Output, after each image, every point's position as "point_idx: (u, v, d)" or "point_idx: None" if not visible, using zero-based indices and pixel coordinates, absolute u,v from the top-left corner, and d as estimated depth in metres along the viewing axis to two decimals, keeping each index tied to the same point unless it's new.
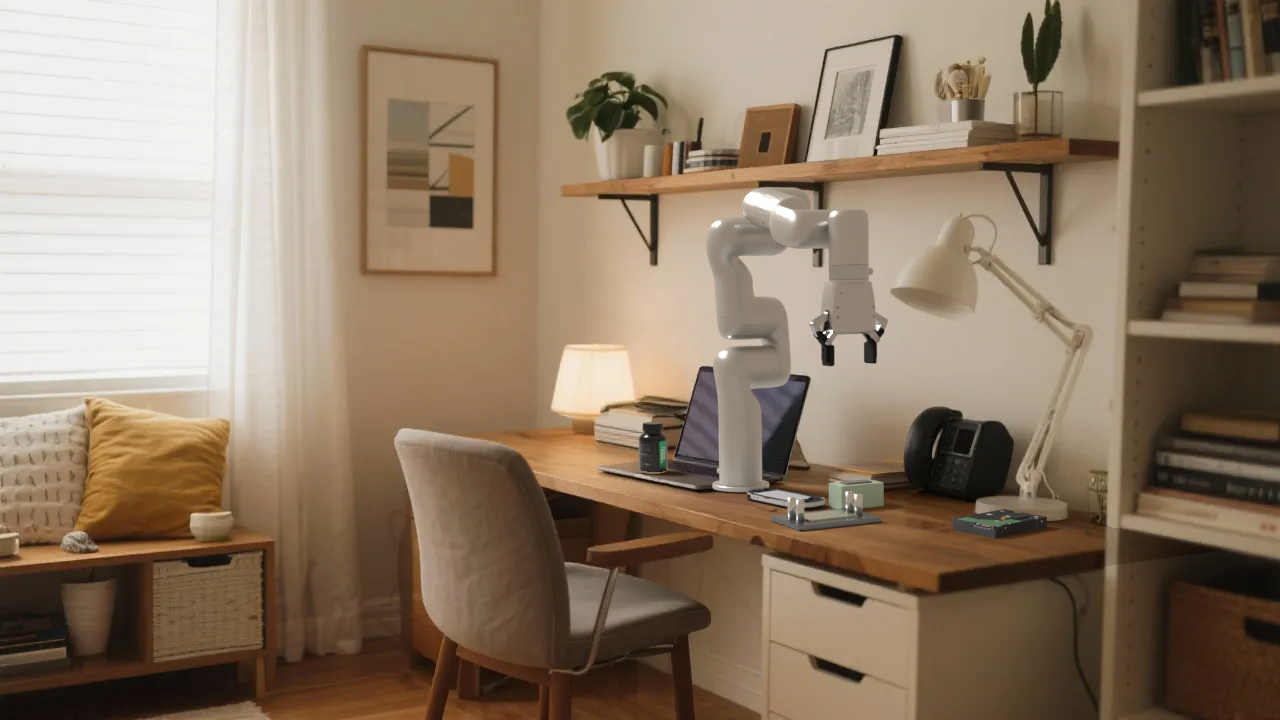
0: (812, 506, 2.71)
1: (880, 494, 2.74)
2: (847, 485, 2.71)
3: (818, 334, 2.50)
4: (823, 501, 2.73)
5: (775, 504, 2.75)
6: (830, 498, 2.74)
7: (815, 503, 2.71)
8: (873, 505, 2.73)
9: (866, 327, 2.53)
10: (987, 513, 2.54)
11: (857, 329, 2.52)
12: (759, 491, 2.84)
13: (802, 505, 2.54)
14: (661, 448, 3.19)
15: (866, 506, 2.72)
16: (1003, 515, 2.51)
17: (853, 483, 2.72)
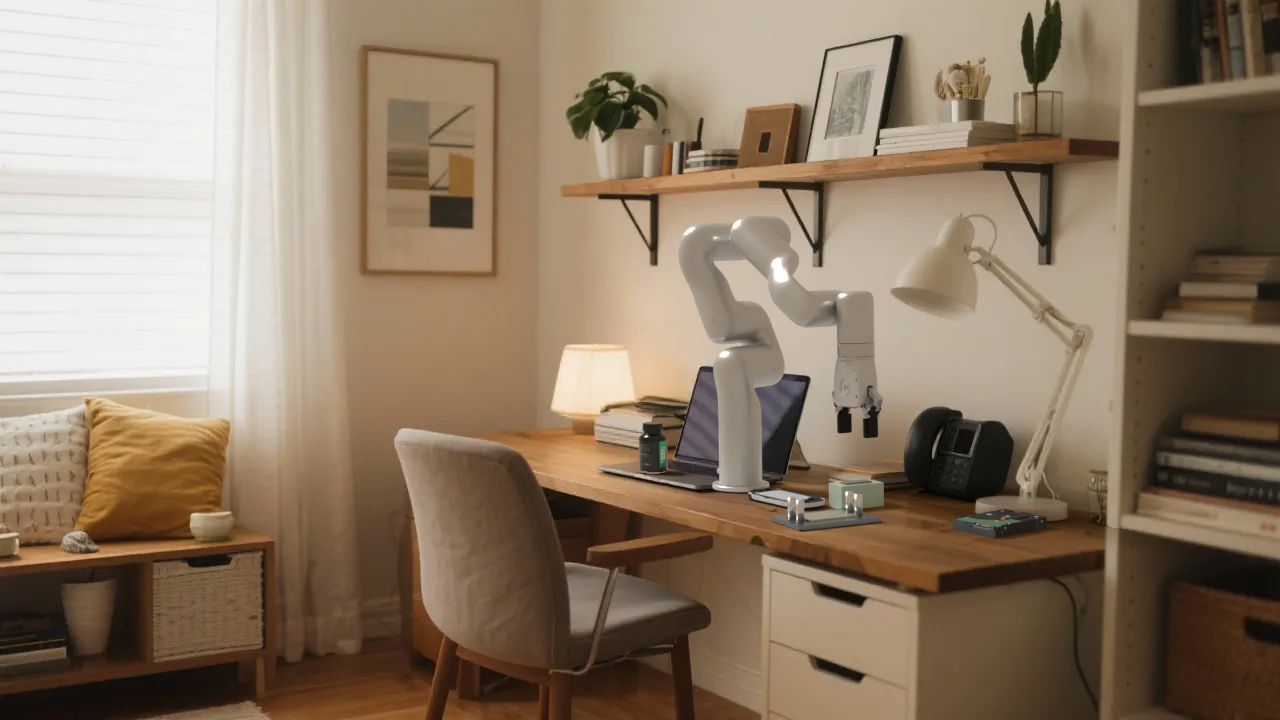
0: (811, 507, 2.71)
1: (880, 494, 2.74)
2: (847, 485, 2.71)
3: (880, 408, 2.66)
4: (823, 501, 2.73)
5: (775, 504, 2.75)
6: (830, 498, 2.74)
7: (814, 503, 2.71)
8: (873, 505, 2.73)
9: None
10: (987, 513, 2.54)
11: None
12: (760, 491, 2.84)
13: (802, 505, 2.54)
14: (661, 448, 3.19)
15: (866, 506, 2.72)
16: (1003, 515, 2.51)
17: (853, 483, 2.72)
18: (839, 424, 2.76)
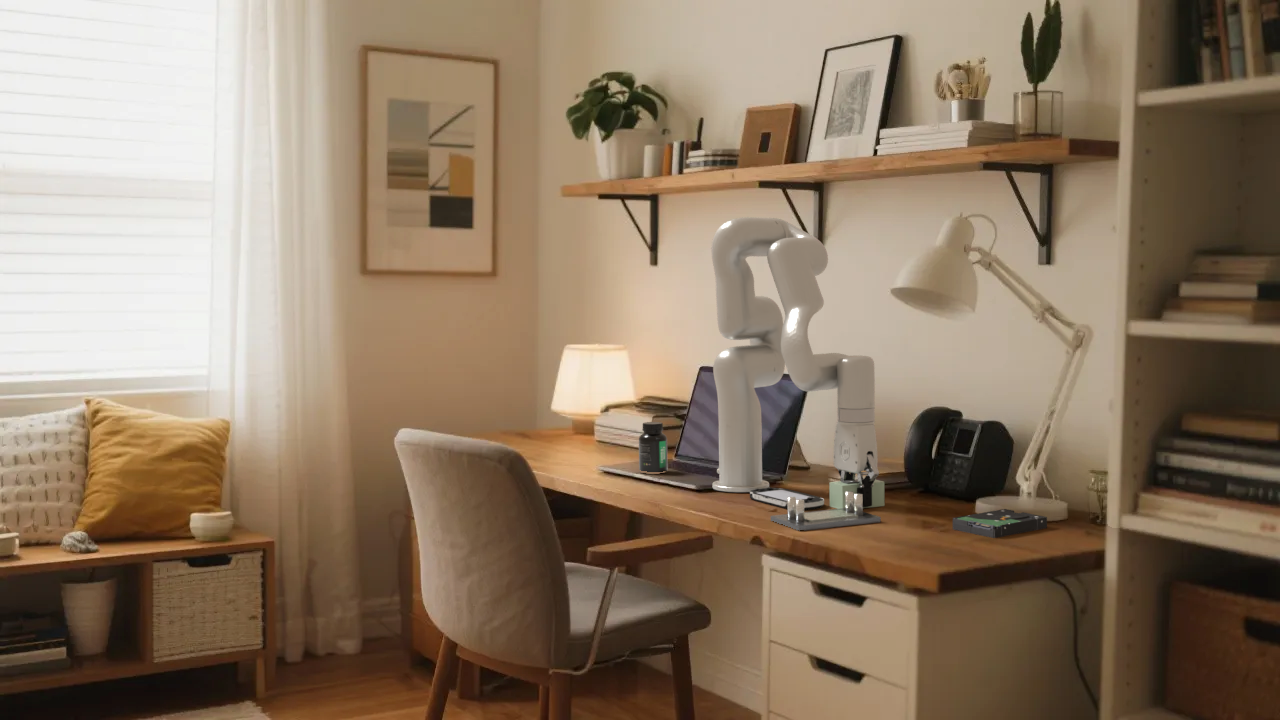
0: (810, 507, 2.70)
1: (881, 493, 2.73)
2: (848, 484, 2.71)
3: (874, 479, 2.69)
4: (821, 501, 2.72)
5: (774, 504, 2.75)
6: (831, 497, 2.74)
7: (812, 503, 2.71)
8: (874, 504, 2.73)
9: None
10: (987, 513, 2.54)
11: None
12: (762, 490, 2.84)
13: (802, 505, 2.54)
14: (661, 448, 3.19)
15: None
16: (1003, 515, 2.51)
17: (854, 482, 2.72)
18: None
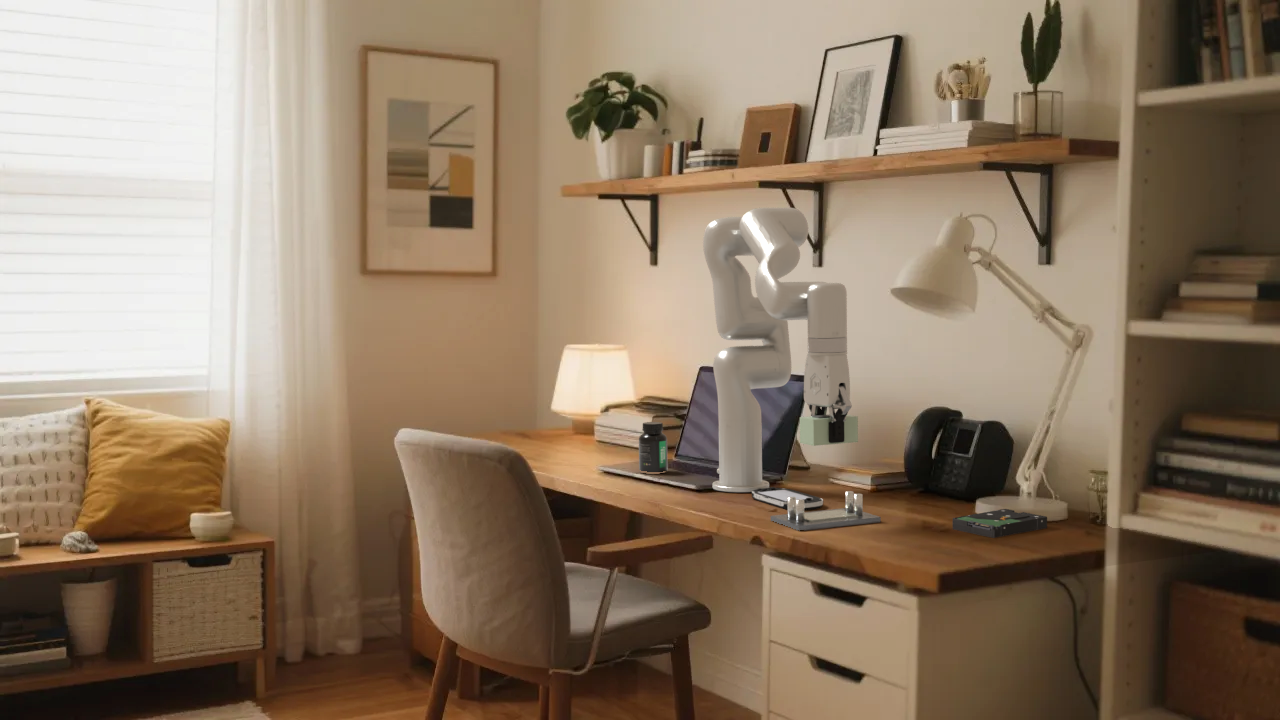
0: (807, 507, 2.70)
1: (854, 428, 2.58)
2: (819, 418, 2.56)
3: (846, 412, 2.54)
4: (820, 502, 2.72)
5: (773, 504, 2.76)
6: (801, 433, 2.58)
7: (810, 504, 2.70)
8: (847, 440, 2.58)
9: None
10: (987, 513, 2.54)
11: None
12: (764, 490, 2.85)
13: (802, 505, 2.54)
14: (661, 448, 3.19)
15: None
16: (1003, 515, 2.51)
17: (826, 417, 2.57)
18: None
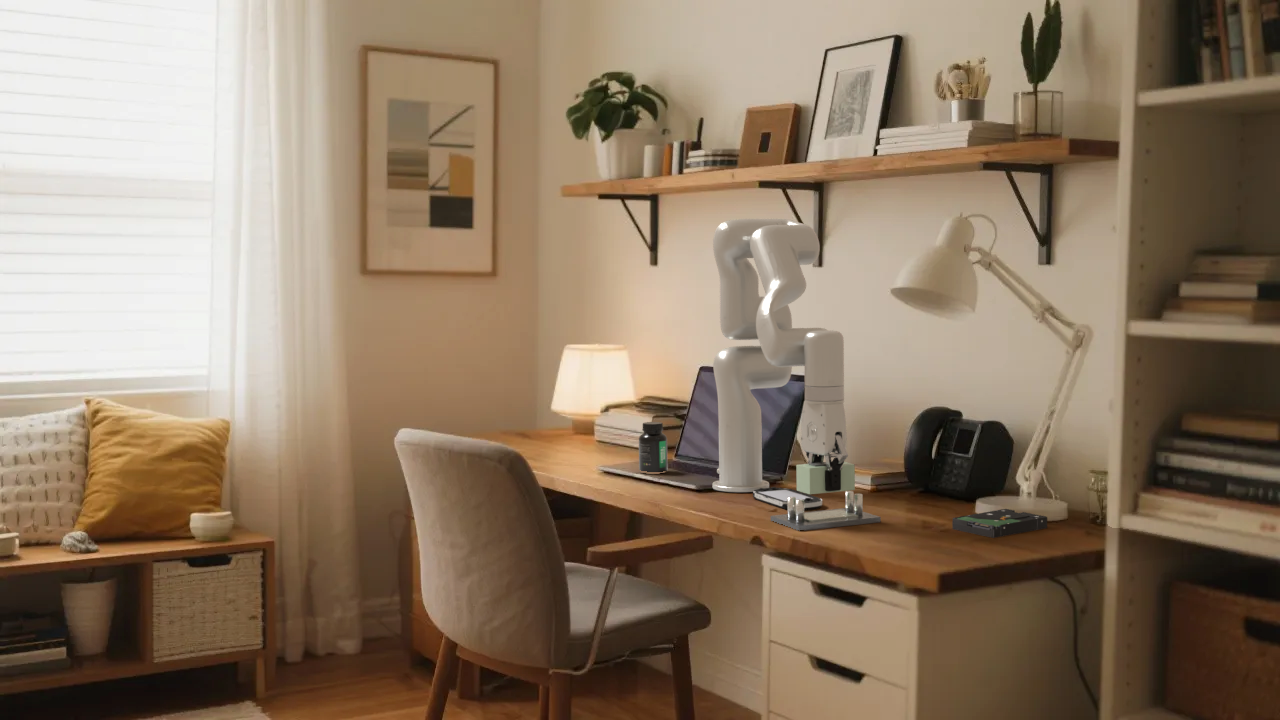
0: (806, 507, 2.70)
1: (851, 476, 2.58)
2: (816, 467, 2.55)
3: (843, 461, 2.53)
4: (819, 502, 2.72)
5: (773, 503, 2.76)
6: (798, 481, 2.58)
7: (809, 504, 2.70)
8: (843, 488, 2.57)
9: None
10: (988, 513, 2.54)
11: None
12: (765, 490, 2.85)
13: (802, 505, 2.54)
14: (661, 448, 3.19)
15: None
16: (1003, 515, 2.51)
17: (822, 465, 2.56)
18: None
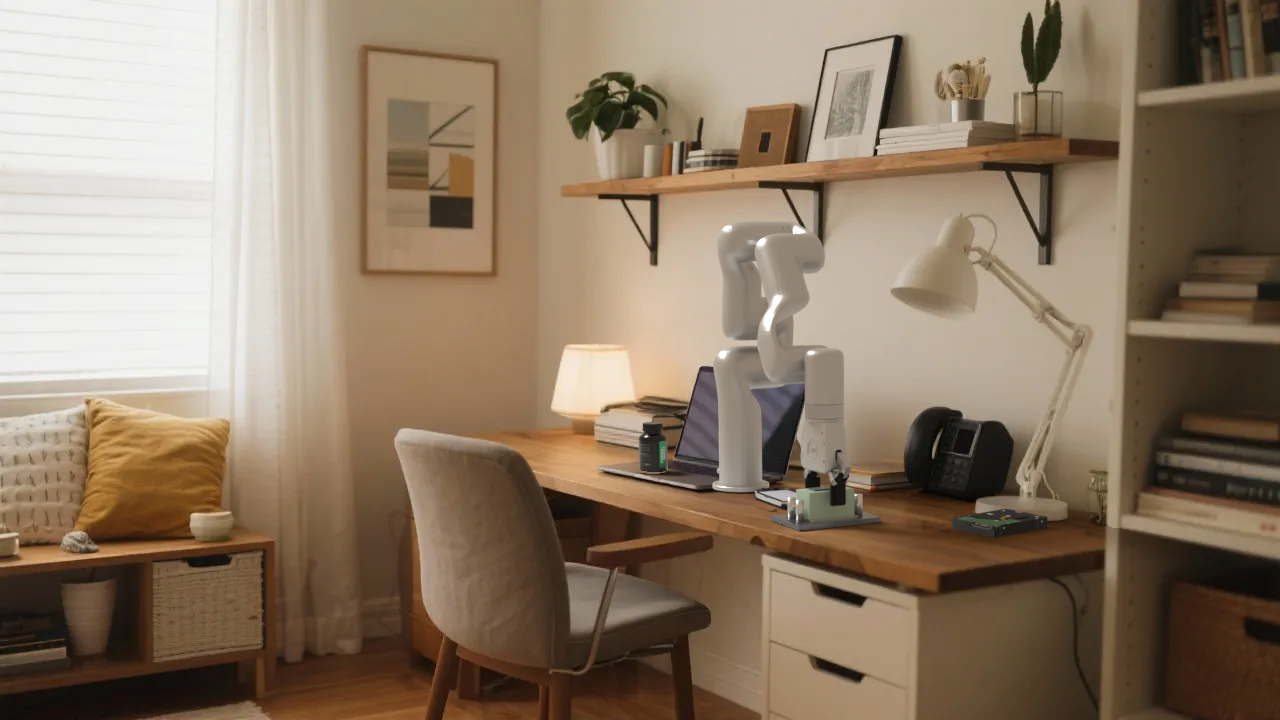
0: None
1: (850, 501, 2.58)
2: (815, 492, 2.56)
3: (848, 475, 2.52)
4: None
5: (772, 503, 2.76)
6: None
7: None
8: (843, 513, 2.58)
9: None
10: (988, 513, 2.54)
11: None
12: (766, 490, 2.85)
13: (802, 505, 2.54)
14: (661, 448, 3.19)
15: (836, 514, 2.57)
16: (1003, 515, 2.51)
17: (822, 489, 2.57)
18: None
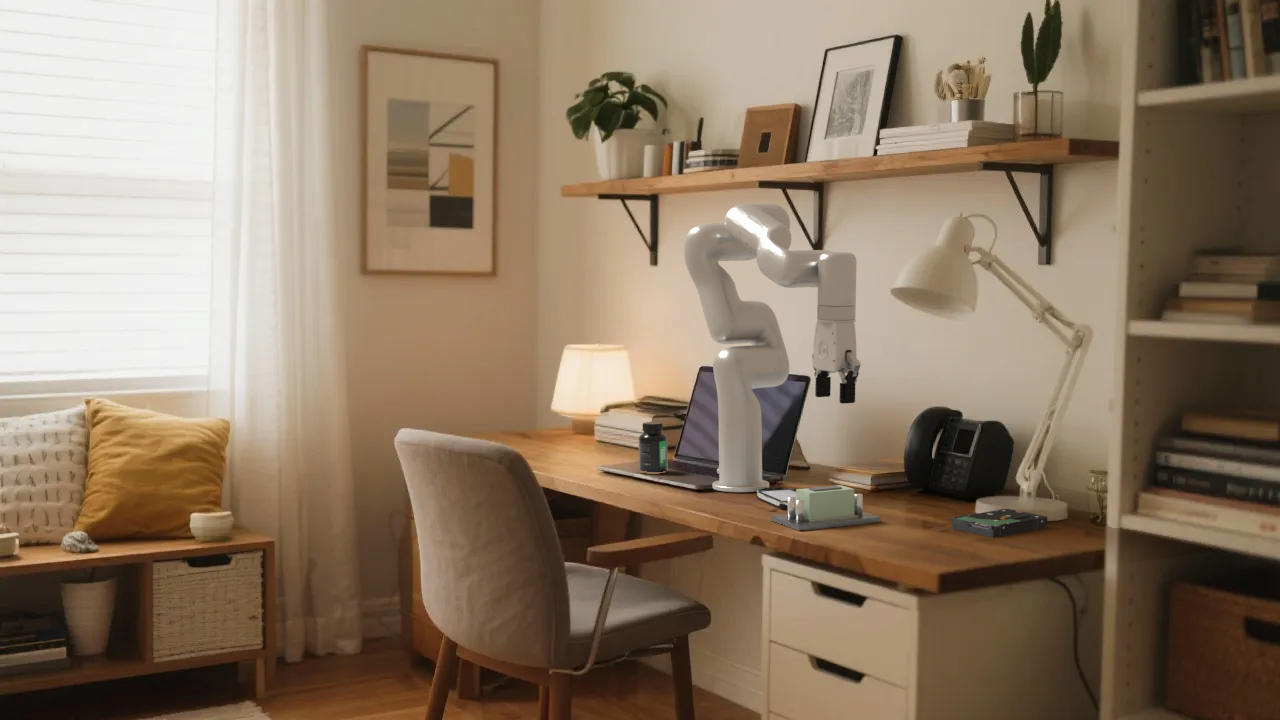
0: None
1: (850, 501, 2.58)
2: (815, 492, 2.56)
3: (857, 373, 2.60)
4: None
5: (772, 503, 2.76)
6: None
7: None
8: (843, 513, 2.58)
9: None
10: (988, 513, 2.54)
11: None
12: (768, 490, 2.85)
13: (802, 505, 2.54)
14: (661, 448, 3.19)
15: (836, 514, 2.57)
16: (1004, 515, 2.51)
17: (822, 489, 2.57)
18: (817, 387, 2.71)
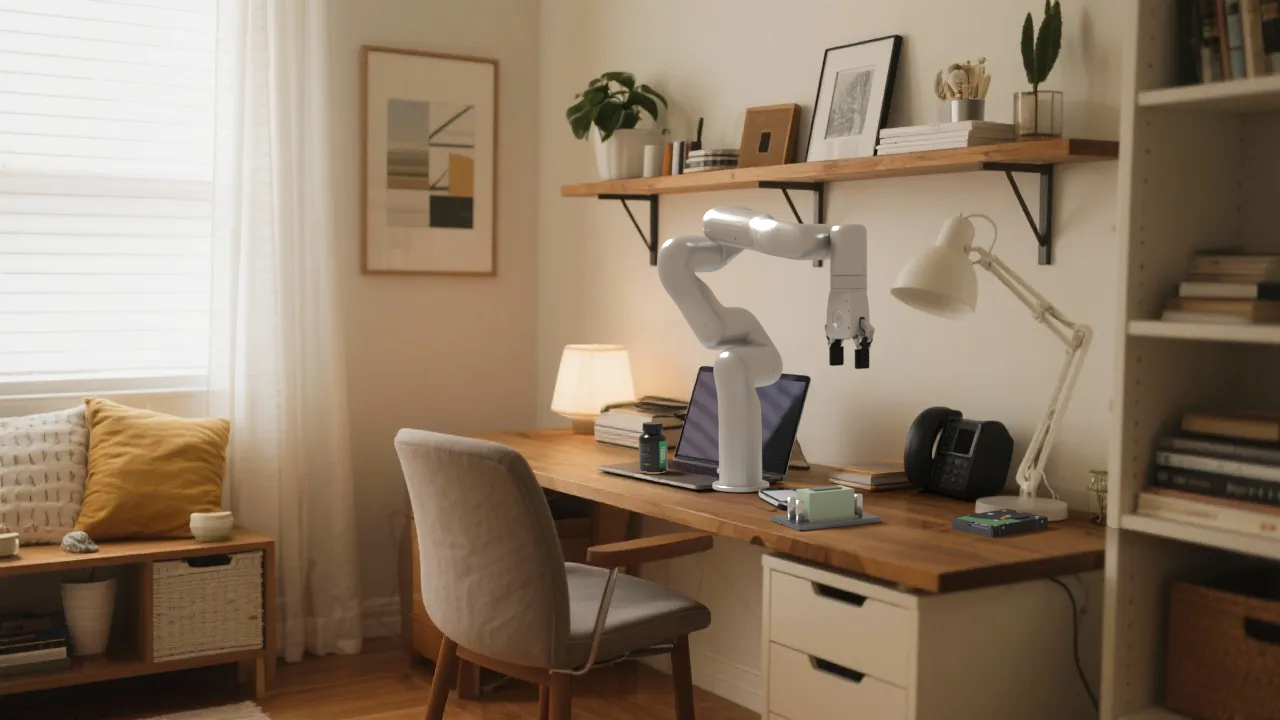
0: None
1: (850, 501, 2.58)
2: (815, 492, 2.56)
3: (872, 339, 2.69)
4: None
5: (771, 503, 2.76)
6: None
7: None
8: (843, 513, 2.58)
9: None
10: (988, 512, 2.54)
11: None
12: (770, 489, 2.85)
13: (802, 505, 2.54)
14: (661, 448, 3.19)
15: (836, 514, 2.57)
16: (1004, 515, 2.51)
17: (822, 489, 2.57)
18: (831, 356, 2.80)
